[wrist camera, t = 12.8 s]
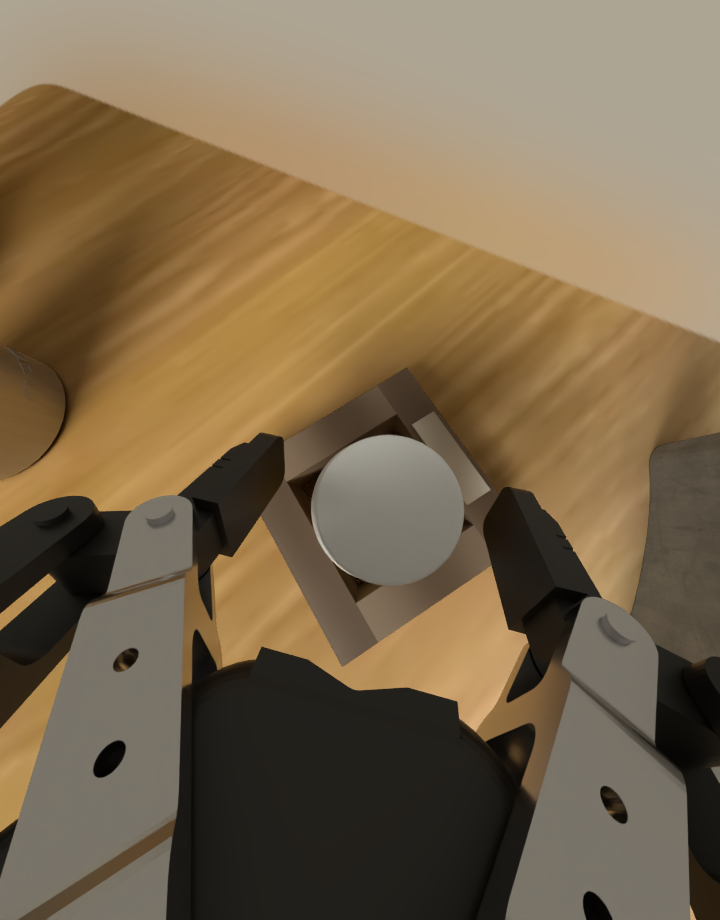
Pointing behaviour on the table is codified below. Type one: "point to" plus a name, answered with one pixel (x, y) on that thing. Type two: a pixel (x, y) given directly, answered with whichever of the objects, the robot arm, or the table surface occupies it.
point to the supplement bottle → (387, 510)
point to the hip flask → (683, 551)
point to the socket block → (321, 581)
